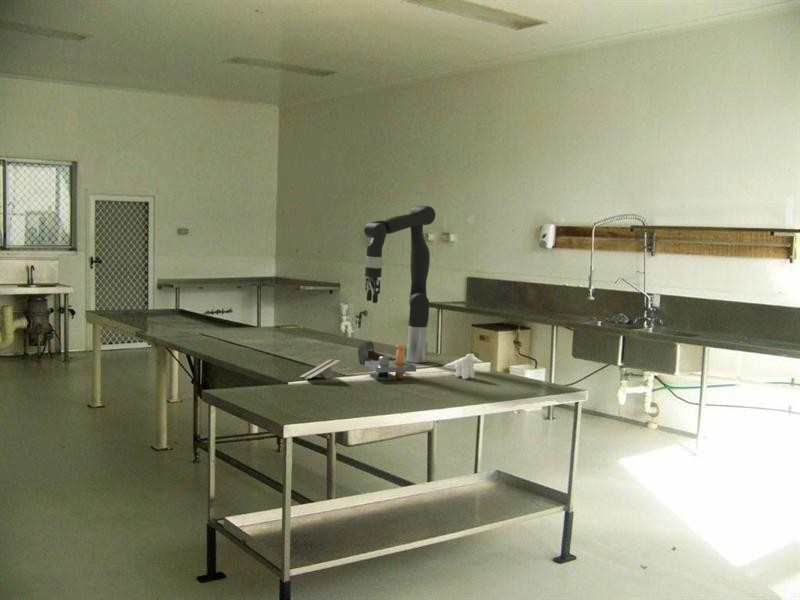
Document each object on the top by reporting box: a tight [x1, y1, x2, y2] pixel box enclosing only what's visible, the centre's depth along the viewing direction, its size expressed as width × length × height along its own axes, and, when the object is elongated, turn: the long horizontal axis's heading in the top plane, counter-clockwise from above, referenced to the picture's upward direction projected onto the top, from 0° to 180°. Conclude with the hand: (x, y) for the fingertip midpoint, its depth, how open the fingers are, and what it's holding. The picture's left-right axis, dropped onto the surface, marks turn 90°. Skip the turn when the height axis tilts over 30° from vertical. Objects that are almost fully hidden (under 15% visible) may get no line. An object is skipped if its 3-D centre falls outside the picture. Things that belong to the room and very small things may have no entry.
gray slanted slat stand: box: [299, 358, 341, 380], centre depth 354 cm, size 16×9×15 cm
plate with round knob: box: [364, 355, 417, 381], centre depth 365 cm, size 18×16×9 cm
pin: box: [394, 344, 407, 379], centre depth 366 cm, size 4×4×14 cm
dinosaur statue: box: [442, 353, 484, 380], centre depth 374 cm, size 7×24×11 cm, turn 44°
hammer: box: [357, 339, 406, 374], centre depth 388 cm, size 5×11×30 cm
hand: (371, 301), depth 386 cm, fingers open, 8 cm apart
